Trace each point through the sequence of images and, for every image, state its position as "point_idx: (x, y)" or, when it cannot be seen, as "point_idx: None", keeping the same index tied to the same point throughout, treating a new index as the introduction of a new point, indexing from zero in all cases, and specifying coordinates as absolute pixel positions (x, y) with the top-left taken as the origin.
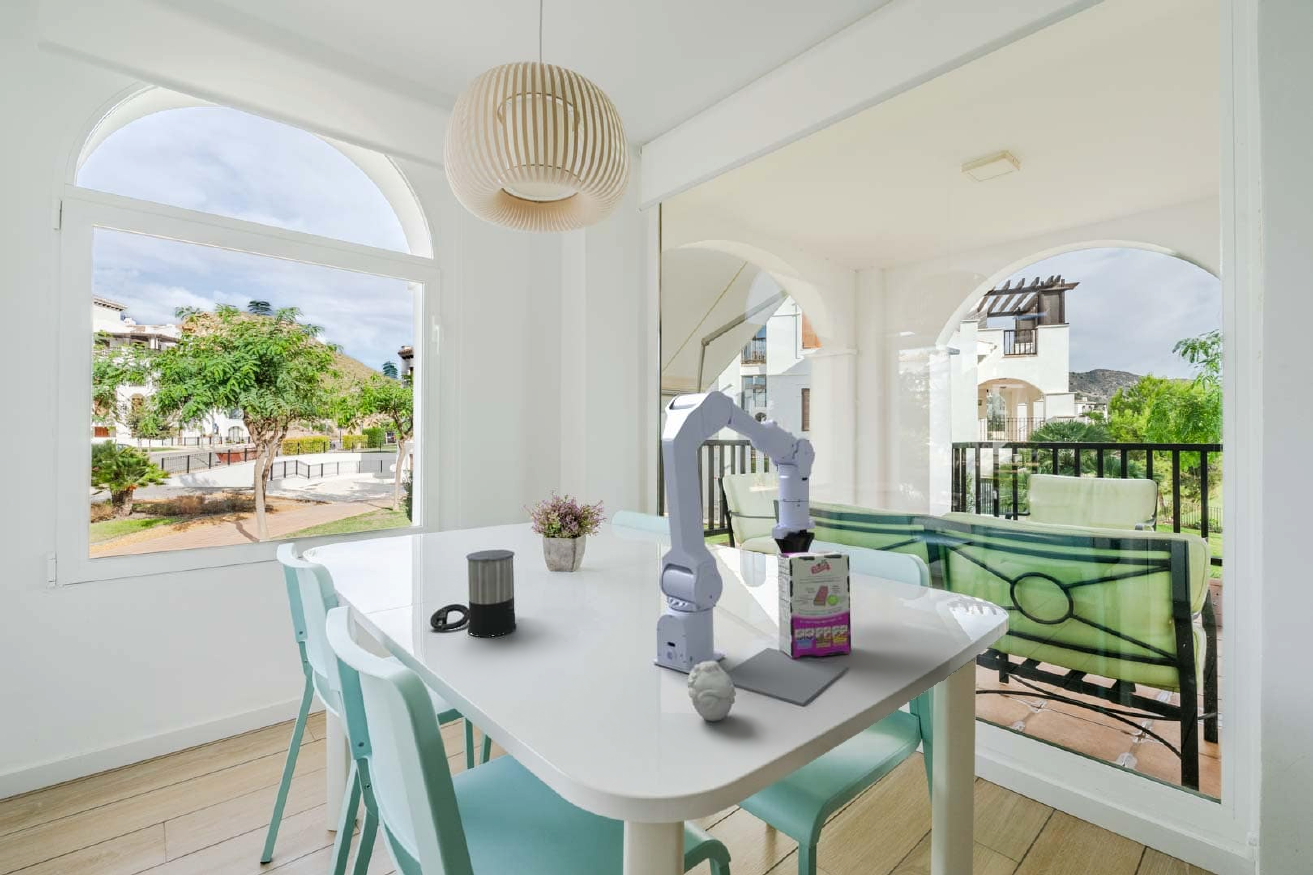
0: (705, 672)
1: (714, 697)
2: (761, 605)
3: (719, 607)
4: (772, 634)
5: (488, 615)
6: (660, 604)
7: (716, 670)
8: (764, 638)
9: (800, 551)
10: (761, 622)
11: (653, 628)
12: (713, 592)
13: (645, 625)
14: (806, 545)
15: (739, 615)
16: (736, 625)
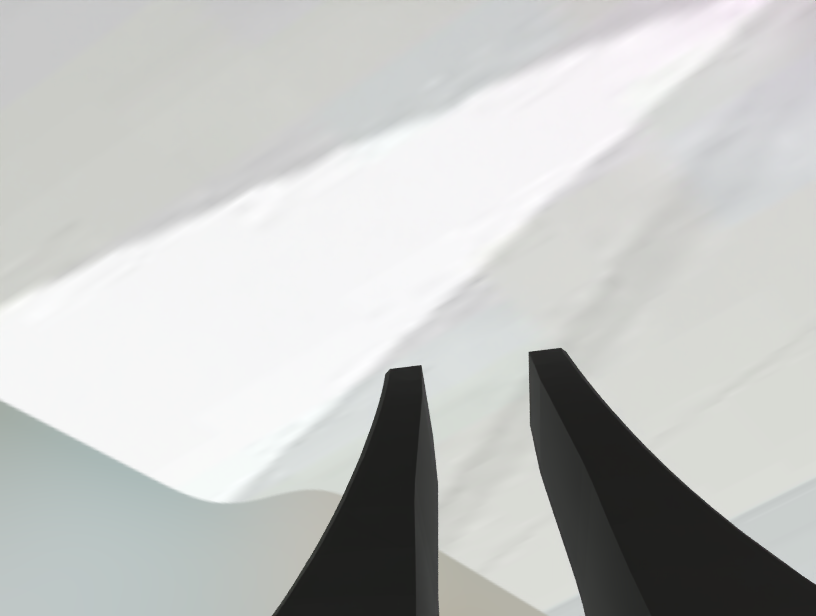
0: None
1: None
2: (293, 437)
3: (446, 507)
4: (659, 173)
5: None
6: (550, 609)
7: None
8: (741, 165)
9: (620, 520)
10: (514, 310)
11: (809, 497)
12: None
13: (788, 525)
14: (413, 599)
15: (486, 417)
16: (621, 353)
